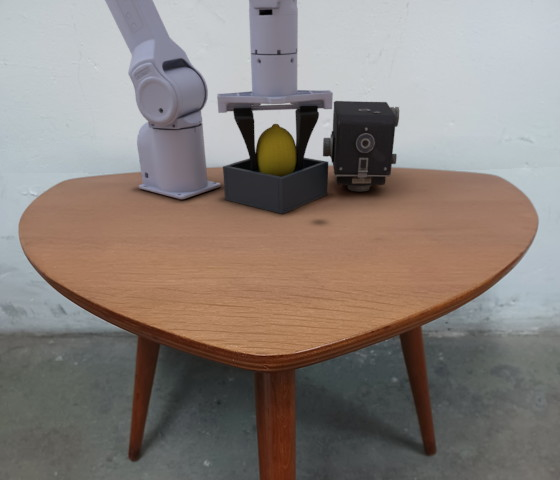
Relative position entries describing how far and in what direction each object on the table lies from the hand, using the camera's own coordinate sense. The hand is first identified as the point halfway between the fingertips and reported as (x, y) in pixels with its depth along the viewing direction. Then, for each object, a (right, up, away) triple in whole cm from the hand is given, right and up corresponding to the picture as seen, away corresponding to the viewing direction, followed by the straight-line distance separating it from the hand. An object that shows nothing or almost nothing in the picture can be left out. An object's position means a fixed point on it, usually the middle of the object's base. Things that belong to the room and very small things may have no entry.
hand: (276, 168), depth 75 cm
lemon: (0, -2, +1) cm, 3 cm away
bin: (0, -3, +2) cm, 4 cm away
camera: (+12, 0, +7) cm, 14 cm away
